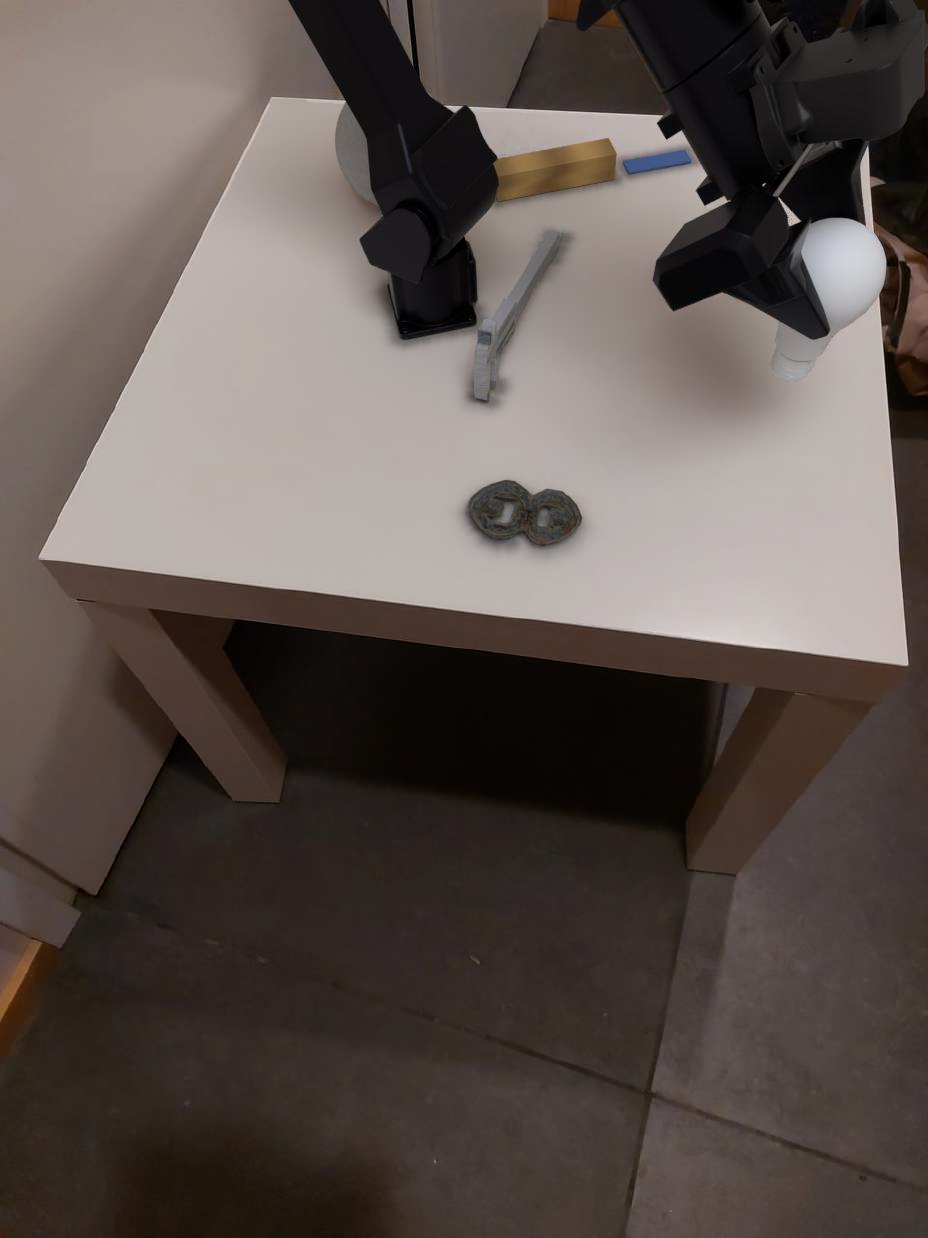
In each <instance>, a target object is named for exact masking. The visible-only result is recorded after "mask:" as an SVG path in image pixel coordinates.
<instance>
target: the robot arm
mask: <svg viewBox="0 0 928 1238" xmlns="http://www.w3.org/2000/svg"><path fill="white" fill-rule="evenodd" d="M287 1H288V2H289V3H288V4H289V5H290V6H291V8H292V10H293V12H294V13H295V15H296V17H297V19H298V21H299V22H300V24H301V25H302V26H301V27H303V29H304V31H305V33H306V35H307V37H308V38H309V39H310V41H311V43H312V45H313V47H314V48H315V50H316V52H317V54H318V55H319V58H320V59H321V61H322V62H323V64H324V66H325V68H326V69H327V71H328V73H329V75H330V77H331V78H332V80H333V81H334V83H335V85H336V87H337V89H338V90H339V92H340V94H341V95H342V98H343V99H344V101H345V102H346V103H347V104H348V106H349V108H350V110H351V111H352V113H353V115H354V117H355V118H356V120H357V122H358V124H359V125H360V127H361V129H362V131H363V133H364V135H365V137H366V140H367V150H368V161H369V173H370V185H371V190H372V193H373V195H374V197H375V199H376V201H377V204H378V205H377V207H378V208H379V210H380V212H381V215H382V216H381V217H380V218H379V219H378V220H377V221H376V222H375V223H374V224H373V225H372V226H371V227H369V228H368V230H367V231H366V232H365V233H363V234H362V235H361V236H360V237H359V239H358V241H359V244H360V246H361V249H362V251H363V252H364V255H365V257H366V259H367V262H368V263H369V264H370V266H373V267H375V268H377V269H380V270H383V271H385V272H386V273H387V280H388V283H387V284H386V288H387V293H388V297H389V301H390V306H391V308H392V313H393V316H394V321H395V324H396V327H397V332H398V336H399V337H400V338H401V339H403V340H407V339H411V338H417V337H421V336H426V335H432V334H436V333H440V332H441V333H442V332H446V331H452V330H457V329H463V328H467V327H472V326H474V325H476V324H477V322H478V318H477V317H478V315H477V314H476V310H475V308H474V304H477V302H478V301H479V296H478V276H477V261H476V257H475V254H474V252H473V251H474V250H473V249H472V245H471V243H470V241H469V240H467V239H466V235H467V234H468V233H469V232H470V231H471V230H472V229H473V228H474V227H475V225H476V224H477V223H479V222H480V220H482V218H483V217H484V216H485V215H486V214H487V213H488V211H490V209H491V208H492V207H493V205H494V204H495V202H496V200H497V198H496V194H497V189H498V187H499V180H498V175H497V172H496V169H495V166H494V164H493V163H494V162H495V161H496V160H497V159H498V158H499V157H498V155H497V154H496V153H495V151H493V149H491V147H490V146H489V144H488V142H487V140H486V139H485V138H484V135H483V133H482V130H481V128H480V125H479V121H478V119H477V117H476V114H475V112H474V111H473V110H472V109H471V108H470V107H469V105H463V106H461V107H460V108H458V110H456V111H455V112H454V110H452V109H450V108H448V107H447V106H445V104H443V103H441V102H440V101H438V100H437V99H435V98H434V97H433V96H432V95H431V94H430V93H429V92H428V91H427V90H426V88H425V85H424V84H423V82H422V80H421V79H420V76H419V74H418V72H417V71H416V69H415V66H414V65H413V63H412V61H411V59H410V57H409V54H408V52H407V51H406V49H405V47H404V45H403V43H402V41H401V39H400V38H399V35H398V34H397V31H396V29H395V28H394V25H393V24H392V22H391V20H390V18H389V16H388V14H387V12H386V11H385V8H384V6H383V4H382V2H381V0H287ZM765 1H766V2H769V3H770V4H780V3H782V2H784V1H785V0H765ZM611 11H613V12H614V14H615V16H616V18H617V19H618V21H619V23H620V25H621V26H622V28H623V30H624V31H625V33H626V35H627V37H628V40H630V42H631V44H632V46H633V47H634V49H635V51H636V53H637V55H638V56H639V59H640V60H641V62H642V63H643V65H644V68H645V69H646V71H647V72H648V74H649V76H650V78H651V79H652V81H653V82H654V83H653V84H655V86H656V88H657V90H658V92H660V95H661V97H662V99H663V100H664V102H665V104H666V106H667V107H668V109H667V110H666V111H665V113H664V114H663V115H662V116H661V117H660V118H659V120H658V121H657V122H656V125H657V127H658V129H659V130H660V131H661V133H662V135H663V136H664V139H665V140H666V141H667V140H670V138H673V137H674V136H675V135H677V134H678V133H680V132H682V134H683V136H684V138H685V139H686V141H687V143H688V144H689V146H690V148H691V150H692V151H693V153H694V155H695V156H696V158H697V161H698V162H699V164H700V166H701V167H702V169H703V171H704V173H705V174H706V176H705V177H704V179H703V180H702V181H701V183H700V184H699V185H698V186H697V188H696V189H695V192H696V194H697V196H698V198H699V199H700V200H701V202H702V204H703V207H706V206H707V205H710V204H711V203H713V202H716V201H718V200H720V199H722V198H723V197H724V198H725V200H726V201H727V202H725V203H723V204H720V205H719V206H717V207H714V208H713V209H711V210H709V211H707V212H705V213H703V214H701V215H699V216H697V217H695V218H693V219H691V220H689V221H687V222H685V223H684V224H683V225H682V226H681V228H680V229H679V230H678V231H677V233H676V234H675V235H674V237H673V238H672V239H671V241H669V243H668V244H667V246H665V248H664V250H663V251H662V253H661V254H660V255H659V256H658V257H657V258H656V260H655V265H654V269H653V275H652V283H653V285H654V286H655V287H656V289H657V291H658V292H659V294H660V295H661V297H662V299H663V300H664V302H665V303H666V305H667V306H668V308H669V310H670V311H672V312H676V311H679V310H682V309H684V308H686V307H689V306H691V305H694V304H697V303H699V302H701V301H704V300H706V299H710V298H712V297H714V296H717V295H719V294H725V295H727V296H729V297H732V298H733V299H735V300H738V301H741V302H742V303H745V304H746V305H749V306H751V307H753V308H755V309H757V310H758V311H760V312H762V313H764V314H766V315H767V316H769V317H771V318H773V319H775V320H776V321H778V322H779V321H780V322H781V323H783V324H785V325H787V326H788V327H790V328H792V329H794V330H795V331H797V332H799V333H800V334H802V335H804V336H806V337H807V338H809V339H811V340H816V339H819V338H823V337H826V336H827V335H828V334H829V332H830V327H829V323H828V320H827V317H826V314H825V311H824V308H823V306H822V303H821V301H820V298H819V296H818V293H817V291H816V289H815V286H814V284H813V281H812V279H811V276H810V274H809V272H808V269H807V267H806V264H805V262H804V259H803V257H802V253H801V251H802V247H803V244H804V241H805V238H806V235H807V232H808V230H809V227H810V224H812V223H814V222H817V221H819V220H823V219H828V218H846V219H851V220H854V221H857V222H859V223H861V224H863V225H864V226H866V227H867V221H866V213H865V206H864V204H865V203H864V198H863V197H864V196H863V188H862V174H861V166H862V161H863V158H864V156H865V153H866V151H867V149H868V147H869V144H870V142H871V141H876V140H881V139H884V138H887V137H890V136H893V135H894V134H896V133H897V132H898V131H900V130H901V129H902V128H903V126H904V125H905V124H906V122H907V121H908V116H909V113H910V111H911V110H912V108H913V107H914V106H915V104H916V103H917V101H919V100H921V99H922V98H923V97H924V94H925V92H926V90H925V89H926V88H925V87H926V86H925V85H926V84H925V51H926V49H927V47H928V23H927V22H926V10H925V9H920V10H919V8H918V7H917V5H916V3H915V2H914V0H862V2H861V3H860V4H859V5H858V8H857V10H856V13H855V15H854V18H853V20H852V24H851V26H850V29H849V30H848V31H846V26H842V27H837V29H836V30H835V31H834V32H833V33H832V35H831V36H830V37H827V38H824V39H821V40H820V39H819V40H817V41H816V40H815V41H812V42H807V40H806V39H805V37H804V35H803V33H802V31H801V29H800V27H799V25H798V23H797V22H795V21H791V22H790V20H789V18H788V16H787V15H786V16H784V17H783V18H781V19H780V20H778V21H777V22H776V23H773V25H770V23H769V21H768V19H767V17H766V15H765V13H764V11H763V10H762V7H761V5H760V3H759V1H758V0H579V2H578V7H577V13H576V18H575V27H576V29H577V31H579V32H581V33H586V32H587V31H589V30H590V29H591V28H593V26H595V25H596V24H597V23H598V22H599V21H601V20H602V19H603V18H604V17H605V16H606V15H608V14H609V13H610V12H611ZM427 92H428V93H429V94H430V95H431V96H432V97H431V96H430V95H429V94H428V93H427ZM782 203H783V204H784V205H785V206H786V207H787V208H788V209H789V211H791V213H792V214H793V215H794V216H795V217H796V218H797V219H798V220H799V221H798V222H795V223H794V224H792V225H790V223H789V215H788V214H787V213H788V212H786V210H785V208H784V206H783V204H782Z"/></svg>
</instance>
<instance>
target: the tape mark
mask: <svg viewBox="0 0 928 1238" xmlns="http://www.w3.org/2000/svg"><path fill="white" fill-rule="evenodd" d="M622 164H623V167H624V168H625V169H626V172H627V174H628V175H634V174H638V173H644V172H649V171H654V170H661V169H665V168H670V167H675V166H681V165H686V164H692V159H691V156H690V155H689V154H688V152H687V150H686V149H685V148H684V149H681V150H675V151H669V152H664V153H659V154H653V155H648V156H643V157H636V158H633V159H632V158H631V159H627V160H623V161H622Z"/></svg>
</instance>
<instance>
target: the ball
mask: <svg viewBox="0 0 928 1238" xmlns="http://www.w3.org/2000/svg"><path fill="white" fill-rule="evenodd" d="M427 93H428V94H429V95H430V96H431V97H433V95H432V94H430V92H428V91H427ZM334 148H335V156H336V160H337V162H338V166H339V168H340V171H341V172H342V175H343V176H344V179H345V180H346V182H347V183H348V185H350V187H351V188H352V189H353V190H354V191H355V192H356V193H357V194H358V195H359V196H360V197H361V198H362V199H364V200H365V201H367V202H368V203H371V204H373V205H375V206H378V204H377V201H376V199H375V197H374V195H373V193H372V190H371V185H370V173H369V161H368V150H367V140H366V137H365V135H364V133H363V131H362V129H361V127H360V125H359V124H358V122H357V120H356V118H355V117H354V115H353V113H352V111H351V110H350V108H349V106H348V104H347V103H346V101H345V102H344V104H343V106H342V108H341V110H340V112H339V115H338V117H337V121H336V126H335V133H334Z"/></svg>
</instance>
